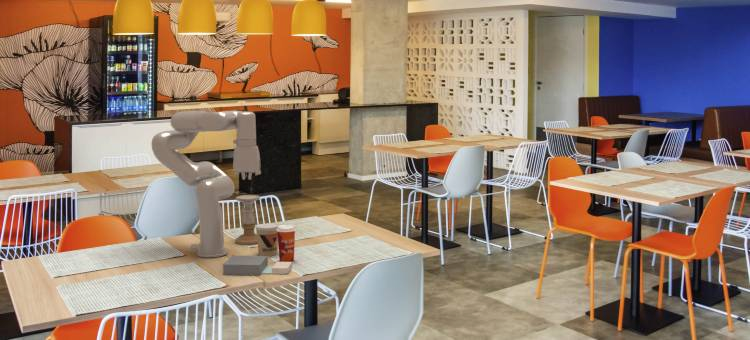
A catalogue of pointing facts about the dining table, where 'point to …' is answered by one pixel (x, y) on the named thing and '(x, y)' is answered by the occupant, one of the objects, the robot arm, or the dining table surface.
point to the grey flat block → (245, 265)
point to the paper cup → (286, 242)
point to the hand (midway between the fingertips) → (247, 189)
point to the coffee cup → (267, 239)
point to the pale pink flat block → (282, 267)
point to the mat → (269, 270)
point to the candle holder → (247, 220)
